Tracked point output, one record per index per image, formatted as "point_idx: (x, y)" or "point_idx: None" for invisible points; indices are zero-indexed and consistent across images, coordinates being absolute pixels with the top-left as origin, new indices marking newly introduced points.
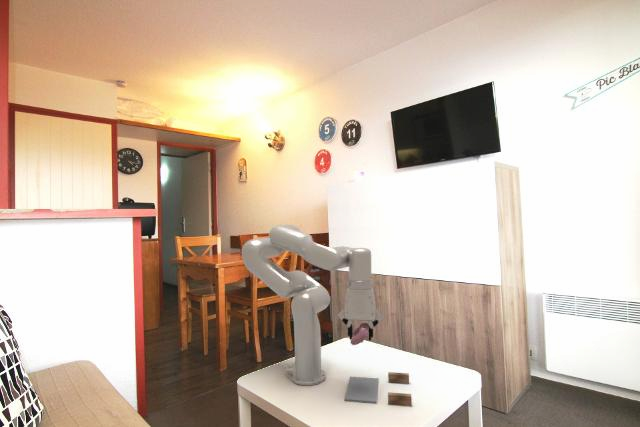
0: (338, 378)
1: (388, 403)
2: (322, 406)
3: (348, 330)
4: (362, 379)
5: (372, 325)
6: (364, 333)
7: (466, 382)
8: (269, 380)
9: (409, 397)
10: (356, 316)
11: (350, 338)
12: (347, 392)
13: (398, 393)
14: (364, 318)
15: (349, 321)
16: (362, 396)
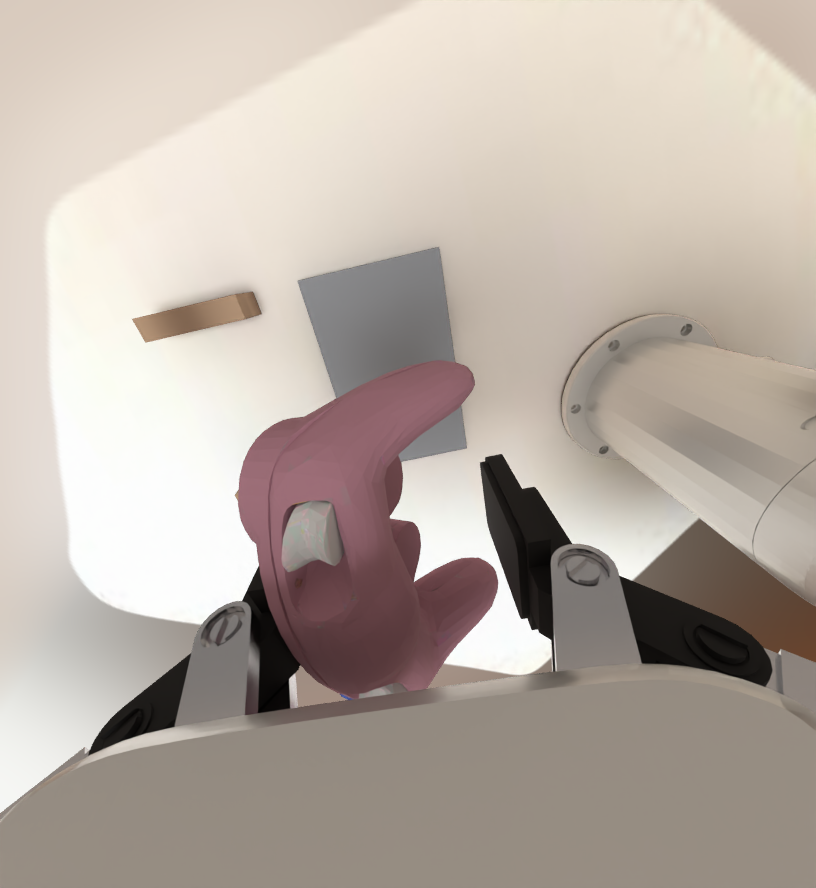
0: (509, 427)
1: (249, 292)
2: (524, 148)
3: (548, 524)
4: (414, 441)
5: (204, 651)
6: (275, 450)
7: (88, 546)
8: (809, 306)
9: (143, 316)
10: (470, 834)
11: (493, 459)
12: (442, 314)
13: (197, 325)
14: (225, 787)
15: (603, 639)
16: (370, 304)
